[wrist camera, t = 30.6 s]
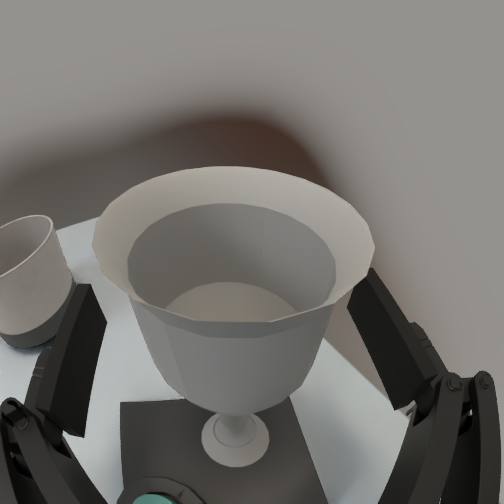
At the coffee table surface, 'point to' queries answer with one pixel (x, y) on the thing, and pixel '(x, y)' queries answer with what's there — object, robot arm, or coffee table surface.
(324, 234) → the chalice
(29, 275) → the planter
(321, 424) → the coffee table surface
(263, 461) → the scale
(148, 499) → the button
